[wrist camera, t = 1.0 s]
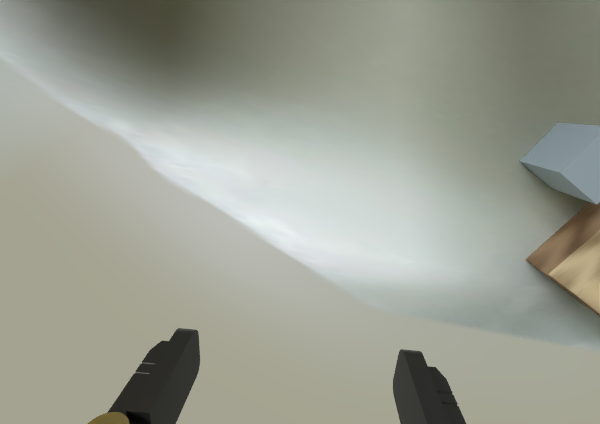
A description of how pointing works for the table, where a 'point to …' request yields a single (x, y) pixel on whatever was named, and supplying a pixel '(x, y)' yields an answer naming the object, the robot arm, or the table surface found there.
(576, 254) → the tower top
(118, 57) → the table surface
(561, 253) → the tower bottom
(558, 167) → the block slate
